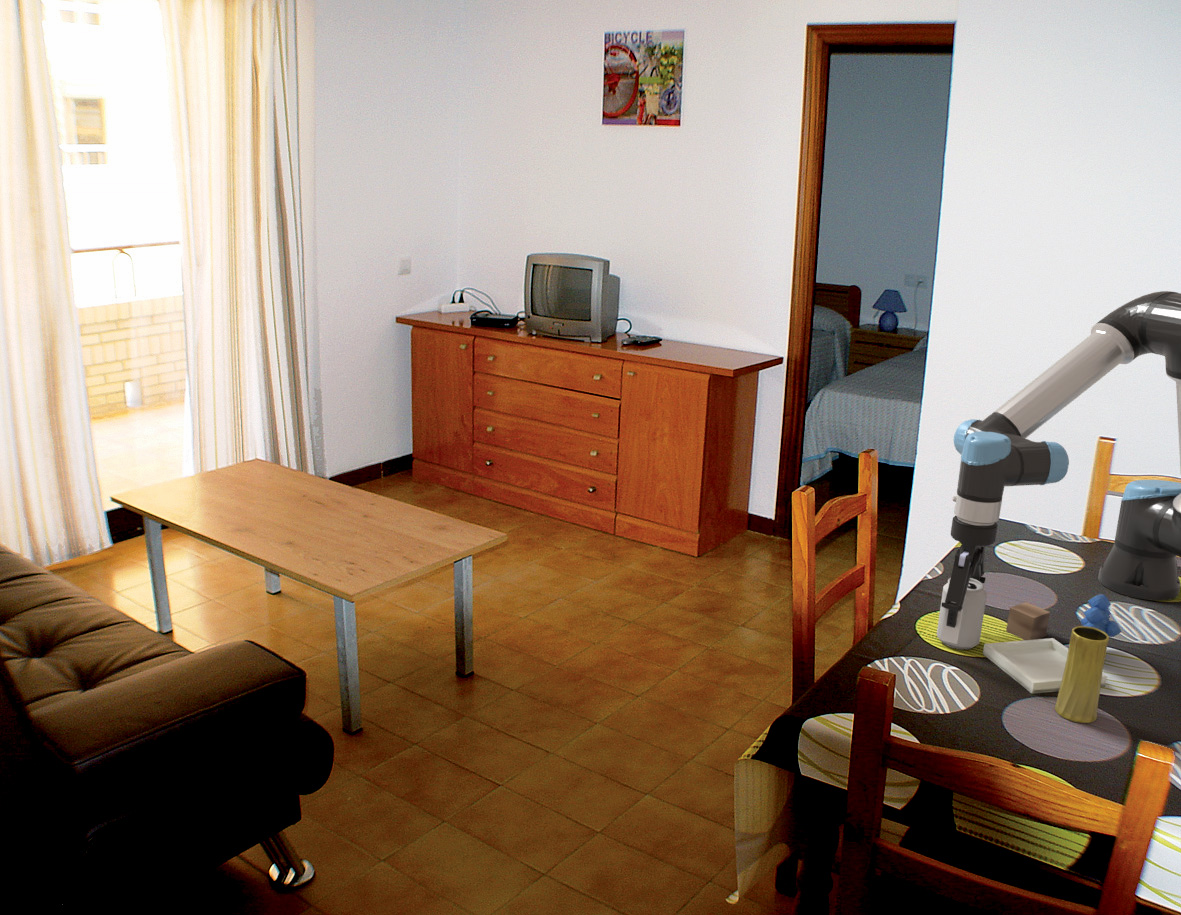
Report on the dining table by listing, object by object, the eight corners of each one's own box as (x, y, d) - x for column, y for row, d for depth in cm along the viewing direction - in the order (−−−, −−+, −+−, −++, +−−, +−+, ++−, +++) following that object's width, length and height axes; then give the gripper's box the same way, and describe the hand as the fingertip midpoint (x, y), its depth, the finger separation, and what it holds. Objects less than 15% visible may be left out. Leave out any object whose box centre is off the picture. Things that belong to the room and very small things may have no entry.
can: (982, 653, 176) (991, 592, 172) (938, 648, 177) (947, 588, 173) (975, 635, 183) (984, 576, 179) (933, 630, 184) (941, 572, 181)
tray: (1051, 647, 178) (1053, 638, 178) (1104, 686, 165) (1106, 676, 165) (982, 653, 175) (984, 643, 175) (1031, 693, 162) (1033, 683, 162)
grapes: (1109, 674, 169) (1121, 611, 166) (1067, 662, 173) (1078, 600, 170) (1121, 649, 178) (1133, 589, 175) (1081, 638, 182) (1092, 579, 179)
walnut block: (1022, 625, 187) (1026, 602, 186) (1045, 636, 183) (1050, 612, 182) (1005, 631, 185) (1009, 607, 183) (1029, 642, 180) (1033, 618, 179)
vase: (1047, 703, 159) (1061, 624, 155) (1082, 703, 160) (1097, 624, 156) (1067, 724, 154) (1083, 642, 149) (1104, 723, 154) (1120, 642, 150)
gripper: (969, 496, 185) (954, 599, 191) (935, 534, 165) (919, 647, 171) (1011, 504, 181) (994, 609, 187) (982, 544, 161) (963, 659, 167)
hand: (958, 627), depth 179 cm, fingers open, 13 cm apart
